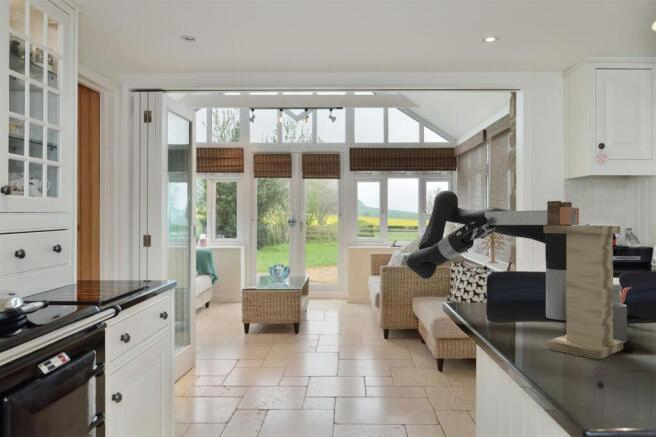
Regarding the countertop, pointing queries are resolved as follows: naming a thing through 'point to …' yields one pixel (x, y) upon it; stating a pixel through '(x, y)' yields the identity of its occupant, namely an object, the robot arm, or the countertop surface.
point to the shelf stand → (586, 287)
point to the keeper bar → (532, 217)
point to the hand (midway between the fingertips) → (494, 219)
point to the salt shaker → (617, 293)
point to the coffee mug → (620, 322)
